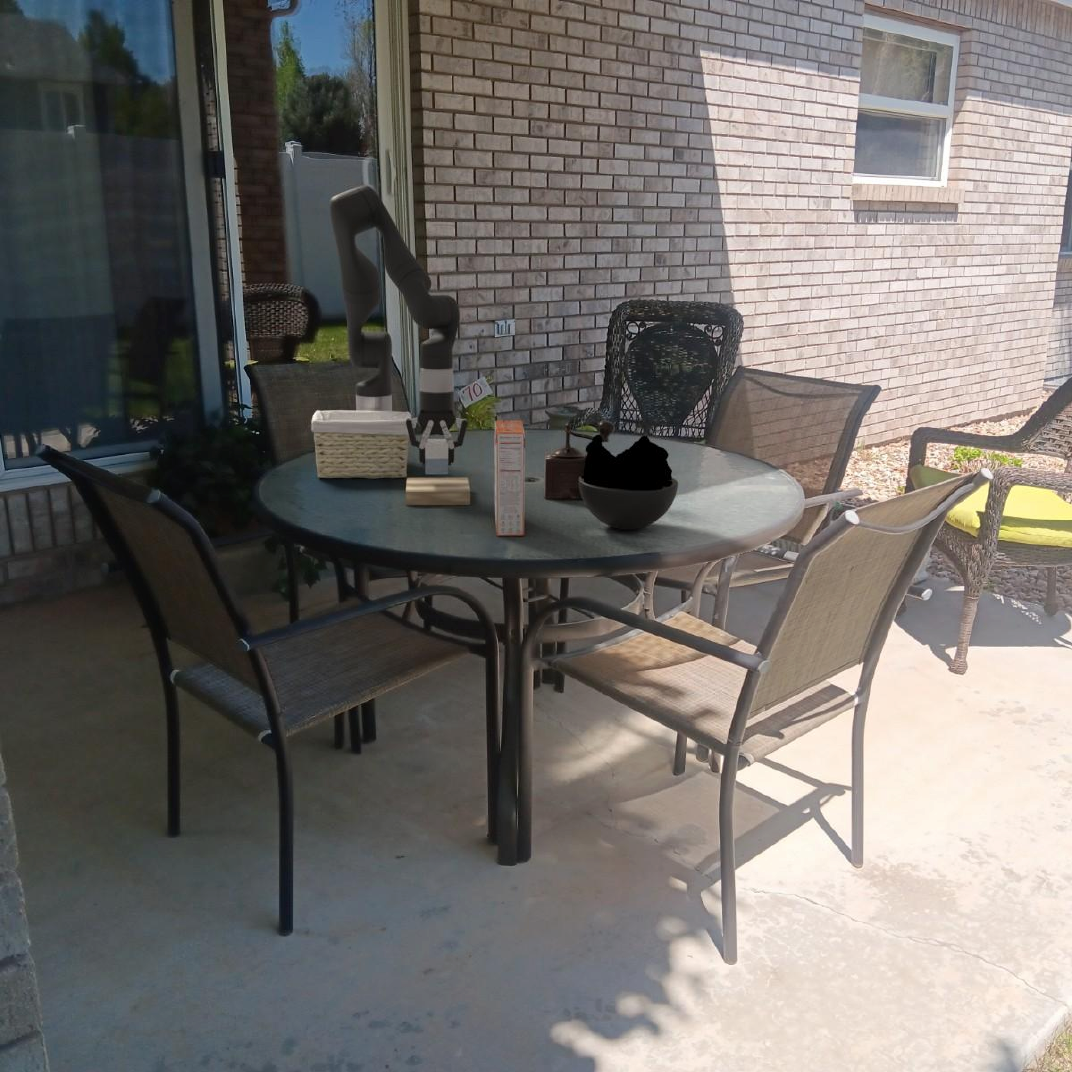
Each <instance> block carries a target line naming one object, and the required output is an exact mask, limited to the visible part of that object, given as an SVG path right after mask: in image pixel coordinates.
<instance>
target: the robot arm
mask: <svg viewBox="0 0 1072 1072" xmlns="http://www.w3.org/2000/svg"><path fill="white" fill-rule="evenodd" d="M328 207H329V217H330V222H331V225H332V231H333V234H334V240H335V245H336V250H337V253H338V255H337V256H338V262H339V269H340V271H339V272H340V281H341V290H342V297H343V305H344V309H345V316H346V317H345V318H346V327H347V328H346V329H347V344H348V345H347V346H348V347H347V349H348V357H349V361H350V363H351V365H352V366H353V367H355V368H361V369H378V373H376V375H374V376H373V377H370V378H369V379H364V380H362V381H359V382H357V383H356V384H355V407H356V410H355V411H393V399H392V397H393V395H392V394H393V393H392V390H393V389H392V388H393V387H392V362H393V361H392V358H393V344H392V343H393V342H392V337H391V335H390V333H388V332H387V331H365V330H363V331H362V329H363V327H364V325H365V324H366V322H367V320H368V319H369V318H370V317H371V315H372V314H373V313H375V310H376V309H377V307H378V306H379V304H380V302H381V299H382V284H381V281H382V280H381V275H380V272H379V269H378V268H377V265H375V263H373V261H372V260H370V259H369V257H367V256H366V255H365V254H363V252H362V251H361V250H360V249H359V248H358V247H357V244H356V236H357V235H358V234H362V233H364V232H366V231H370V230H372V229H374V228H376V229H377V230H378V231H379V233H380V234H381V235H382V240H383V241H382V242H383V260H384V261H383V262H384V269H385V271H386V273H387V276H388V277H389V278H390V280H391V281H392V283H393V284H394V285H395V286H396V288H397V289H398V291H399V292H400V293H401V295H402V296H403V298H404V302H405V305H406V307H407V310H408V312H409V314H410V317H411V318H412V320H413V322H414V323H415V324H416V325H418V327H420V328H422V329H425V330H432V333H431V337H430V338H429V339H426V340H424V341H423V342H422V343H420V349H419V356H420V357H419V359H420V361H419V363H420V365H419V366H420V368H419V369H420V370H419V376H418V377H419V379H418V381H419V382H418V387H419V388H418V390H419V391H418V392H419V393H418V394H419V402H418V403H419V414H418V415H417V417H413V418H412V417H411V419H410V418H407V419H406V426H407V430H408V434H409V443H410V444H411V446H412V447H416V448H418V450H419V454H418V455H419V456H418V458H419V463H421V464H422V466H425V442H427V440H428V439H429V436H435V435H439V436H444V439H446V441H447V442H448V467H450V466H452V464H454V462H455V449H456V448H458V447H462V446H463V443H464V439H465V436H466V435H465V434H466V432H467V431H466V430H467V426H468V419H466V418H459V417H456V415H455V413H454V412H455V408H454V407H455V406H454V405H455V404H454V403H455V401H454V400H455V396H454V395H455V393H454V391H455V389H454V388H455V381H454V380H455V378H454V369H453V368H454V367H453V366H454V365H453V358H454V356H453V349H454V345H455V341H456V337H457V334H458V329H459V325H460V320H461V319H460V317H461V313H460V307H459V304H458V302H457V301H456V299H455V298H454V297H452V296H451V295H448V294H438V295H435V294H433V295H431V294H430V293H429V291H430V290H431V287H432V279H431V278H430V276H429V275H428V273H427V271H426V269H424V267H423V266H422V265H421V263H419V261H418V260H417V259H416V257H415V256H414V254H413V253H412V252H411V250H410V248H409V247H408V246H407V244H406V242H405V240H404V238H403V236H402V234H401V232H400V230H399V229H398V227H397V225H396V224H395V222H394V220H393V218H392V216H391V214H390V213H389V211H388V209H387V207H386V206H385V204H384V202H383V201H382V199H381V197H380V196H379V194H378V193H377V192H376V191H375V189H374V188H373V187H371V186H370V185H366V184H364V185H360V186H356V187H354V188H351V189H348V190H346V191H343V192H340V193H338V194H337V195H334V196H332V197H331V199H330V200H329V206H328ZM417 423H419V425H420V426H421V427H422V429H423V432H422V435H421V439H420V440H417V438H416V433H415V430H414V429H415V428H416V427H417ZM455 423H456V425H457V429H459V431H458V435H457V438H456V440H453V438H452V434H451V432H450V430H451V429H452V427H453V426H454V425H455Z"/></svg>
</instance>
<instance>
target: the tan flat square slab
mask: <svg viewBox="0 0 1072 1072" xmlns="http://www.w3.org/2000/svg"><path fill="white" fill-rule="evenodd" d="M405 486H406V487H405V505H406V506H466V505H467V506H470V505H471V488H470V482H469V477H406V485H405Z"/></svg>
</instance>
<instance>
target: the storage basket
mask: <svg viewBox="0 0 1072 1072" xmlns="http://www.w3.org/2000/svg"><path fill="white" fill-rule="evenodd" d="M407 418H410V419H412V414H411V412H410V411H396V410H392V411H356V410H348V409H347V410H346V409H345V410H344V409H337V410H335V409H334V410H330V409H329V410H319V409H318V410H315V412H314V413H313V415H312V418H311V428H310V429H311V432H312V433H313V440H314V449H315V451H314V452H315V453H314V454H315V462H316V468H317V477H318V478H322V479H337V478H338V479H340V478H343V479H354V478H360V479H363V478H364V479H371V480H372V479H373V480H374V479H375V480H376V479H384V478H389V479H397V478H401V479H402V478H404V479H405V478H408V477H407V475H408V474H407V466H408V458H409V457H408V453H409V443H410V438H409V434H408V430H407V426H406V419H407Z"/></svg>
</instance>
